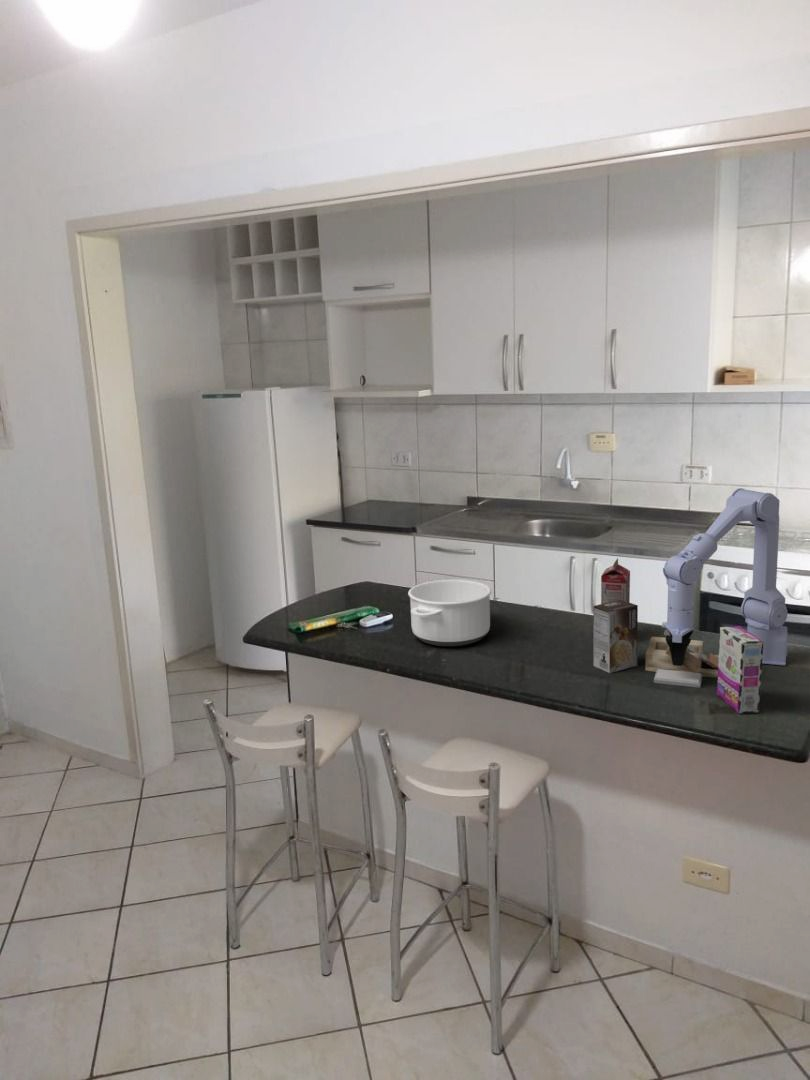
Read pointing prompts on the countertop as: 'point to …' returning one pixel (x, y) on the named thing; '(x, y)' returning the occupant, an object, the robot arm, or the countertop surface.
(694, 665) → the walnut block
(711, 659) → the lever
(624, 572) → the juice carton
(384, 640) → the countertop surface
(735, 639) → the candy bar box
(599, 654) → the coffee box
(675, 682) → the grey pad
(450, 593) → the pot
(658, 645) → the pocket board
